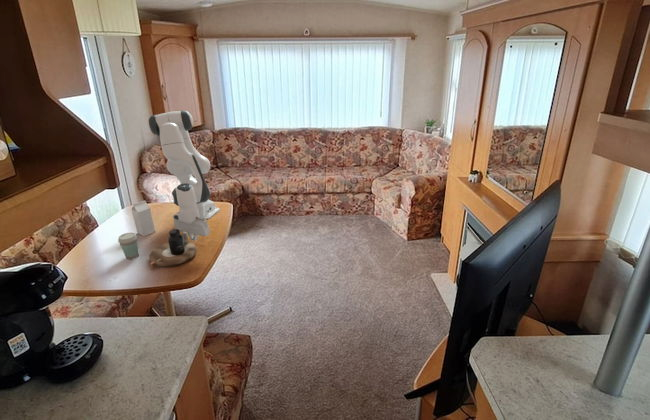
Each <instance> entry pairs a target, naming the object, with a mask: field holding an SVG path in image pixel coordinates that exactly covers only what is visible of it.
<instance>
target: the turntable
mask: <svg viewBox="0 0 650 420" xmlns="http://www.w3.org/2000/svg"><path fill="white" fill-rule="evenodd" d="M181 235H182V236H183V242H184V248H185V252H184V253H183V254H181V255H172V254H171V253H170V247H169V242H167V243H164V244H161V245H159V246H157V247H155V248H154V249H153V250H152V251H151V252H150V253H149V255H148V259H149V262H150V263H152V262H155V263H156V267H157V266H158V267H173V266H172V265H175V266H178V265H181V264H184V263H185V261H186V262H188V261H189V260H191V259H192V258H193V257H195V255H196V253H197V249H196V246H195V244H194V243H192V242H190V241H189V235H188V233H187V232H182V233H181ZM183 262H184V263H183ZM180 263H181V264H180ZM177 264H178V265H177Z"/></svg>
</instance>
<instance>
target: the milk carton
mask: <svg viewBox="0 0 650 420" xmlns="http://www.w3.org/2000/svg"><path fill="white" fill-rule="evenodd" d="M131 212H132V216H133V220H134V226H135V229H136V232H137V234H139V235H141V236H143V237H145V236H147V235H150V234H153V233H155V232H156V229H155V224H154V221H153V214H152V212H151V207H150V205H148V203H147V201H146V199H145V200H142V201H139V202H136V203H135V202H134V203H133V204H132V208H131Z"/></svg>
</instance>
